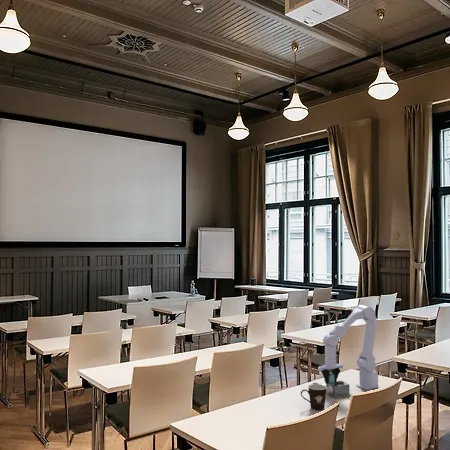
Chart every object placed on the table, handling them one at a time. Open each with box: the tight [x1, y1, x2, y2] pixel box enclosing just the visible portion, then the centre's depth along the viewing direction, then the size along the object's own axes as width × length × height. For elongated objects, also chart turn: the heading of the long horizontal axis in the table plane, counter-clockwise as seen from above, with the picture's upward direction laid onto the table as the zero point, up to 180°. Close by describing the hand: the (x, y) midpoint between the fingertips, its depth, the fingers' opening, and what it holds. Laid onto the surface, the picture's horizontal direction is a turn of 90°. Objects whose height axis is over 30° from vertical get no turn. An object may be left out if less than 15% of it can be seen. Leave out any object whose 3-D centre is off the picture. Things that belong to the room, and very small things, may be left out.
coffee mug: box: [300, 383, 327, 411], centre depth 230 cm, size 12×9×10 cm
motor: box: [320, 380, 353, 399], centre depth 252 cm, size 11×15×6 cm
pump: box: [325, 372, 335, 386], centre depth 256 cm, size 4×4×7 cm
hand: (330, 383), depth 256 cm, fingers closed on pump, 4 cm apart
